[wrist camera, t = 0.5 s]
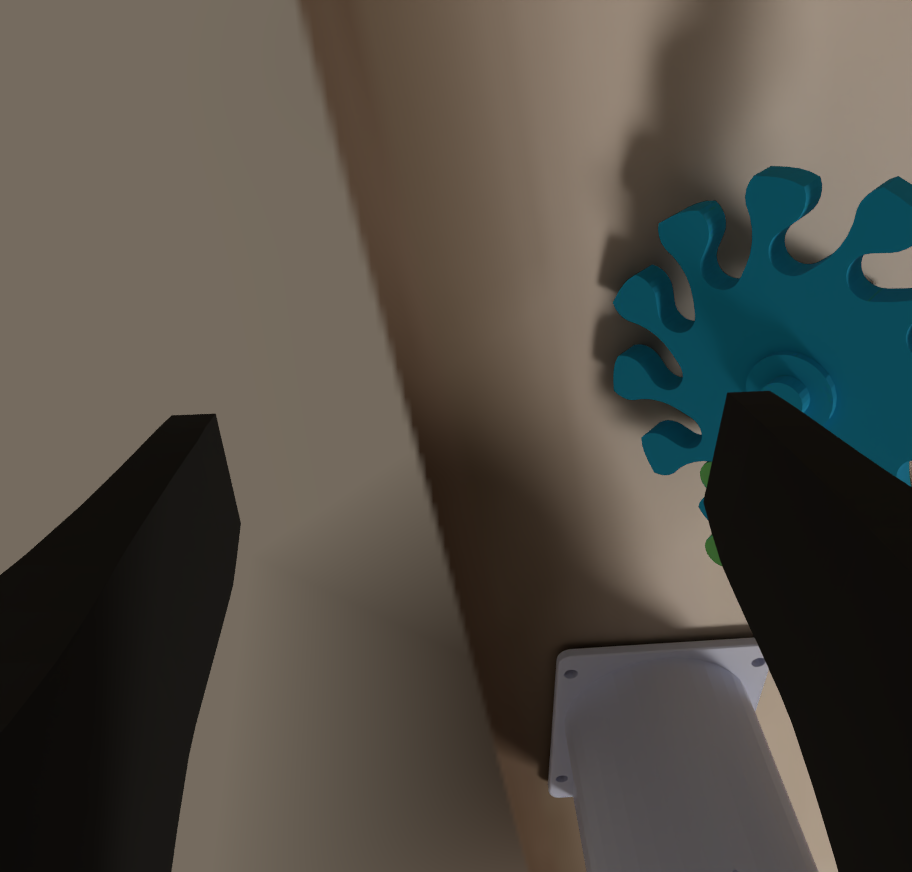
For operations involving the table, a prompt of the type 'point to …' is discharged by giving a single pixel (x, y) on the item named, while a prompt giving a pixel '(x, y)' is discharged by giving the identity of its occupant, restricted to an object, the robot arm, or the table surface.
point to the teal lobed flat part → (777, 327)
